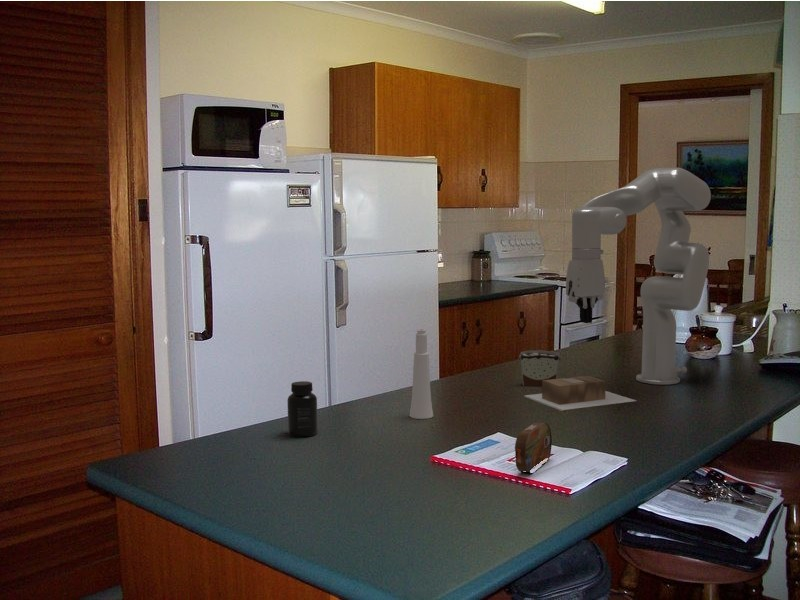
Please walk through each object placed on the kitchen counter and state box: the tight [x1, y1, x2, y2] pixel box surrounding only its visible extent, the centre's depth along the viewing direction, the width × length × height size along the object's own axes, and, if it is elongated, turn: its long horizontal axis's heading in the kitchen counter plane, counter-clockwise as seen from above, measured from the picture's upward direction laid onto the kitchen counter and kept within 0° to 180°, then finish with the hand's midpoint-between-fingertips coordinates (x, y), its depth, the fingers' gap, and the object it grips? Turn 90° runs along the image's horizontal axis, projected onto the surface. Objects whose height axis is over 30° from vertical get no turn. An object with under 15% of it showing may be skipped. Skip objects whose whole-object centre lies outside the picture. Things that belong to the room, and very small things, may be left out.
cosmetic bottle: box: [408, 328, 434, 420], centre depth 204 cm, size 6×6×22 cm
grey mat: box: [524, 390, 637, 412], centre depth 223 cm, size 24×18×1 cm
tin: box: [514, 422, 553, 472], centre depth 164 cm, size 15×3×8 cm, turn 150°
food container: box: [518, 350, 562, 387], centre depth 240 cm, size 12×6×10 cm, turn 84°
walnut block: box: [541, 375, 607, 405], centre depth 222 cm, size 5×8×15 cm
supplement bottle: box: [286, 380, 319, 438], centre depth 189 cm, size 7×7×12 cm
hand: (586, 322), depth 221 cm, fingers closed
